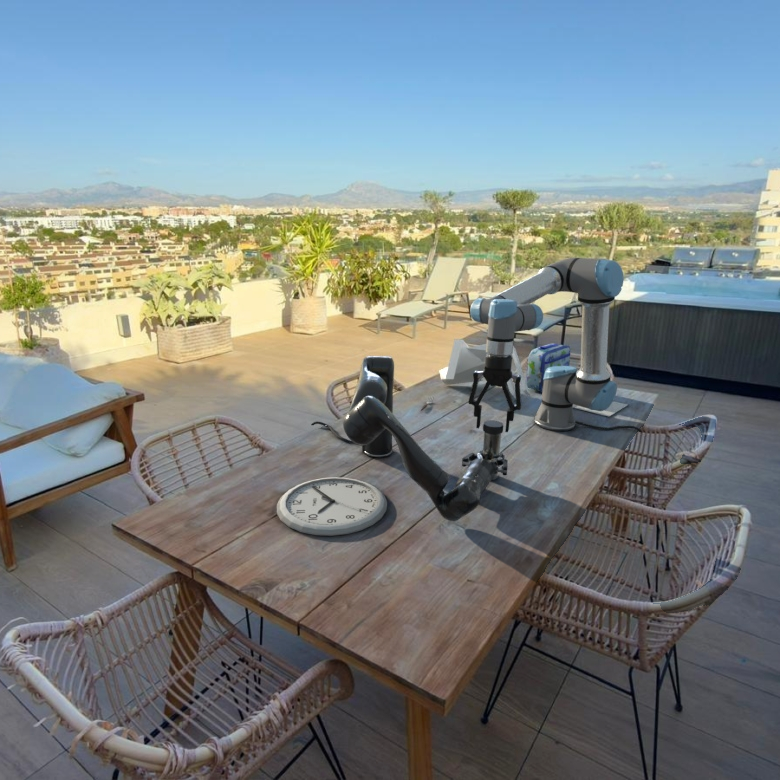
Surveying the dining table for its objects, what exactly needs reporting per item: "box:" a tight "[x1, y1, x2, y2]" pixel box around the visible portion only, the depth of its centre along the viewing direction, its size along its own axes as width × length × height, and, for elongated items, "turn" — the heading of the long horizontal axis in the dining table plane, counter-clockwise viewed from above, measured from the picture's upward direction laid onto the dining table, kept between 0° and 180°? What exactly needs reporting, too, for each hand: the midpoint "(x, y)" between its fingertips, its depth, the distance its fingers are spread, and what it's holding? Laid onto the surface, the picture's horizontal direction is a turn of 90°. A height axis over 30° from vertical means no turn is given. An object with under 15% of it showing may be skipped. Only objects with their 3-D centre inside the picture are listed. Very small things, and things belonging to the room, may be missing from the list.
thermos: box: [482, 431, 502, 481], centre depth 158 cm, size 5×5×17 cm
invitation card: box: [573, 400, 629, 418], centre depth 226 cm, size 21×1×15 cm
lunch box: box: [525, 343, 571, 393], centre depth 249 cm, size 26×11×21 cm, turn 134°
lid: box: [482, 419, 504, 435], centre depth 156 cm, size 6×6×2 cm
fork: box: [420, 396, 435, 411], centre depth 223 cm, size 3×16×2 cm, turn 160°
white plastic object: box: [438, 338, 531, 400], centre depth 245 cm, size 37×45×31 cm
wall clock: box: [276, 476, 388, 537], centre depth 142 cm, size 30×2×30 cm
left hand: (492, 454), depth 161 cm, fingers closed on thermos, 5 cm apart
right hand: (492, 428), depth 156 cm, fingers open, 8 cm apart
